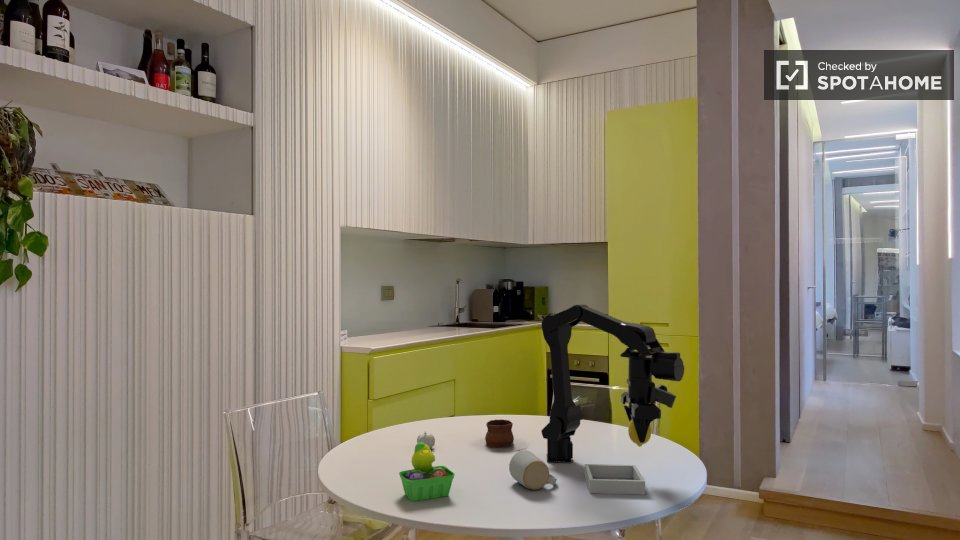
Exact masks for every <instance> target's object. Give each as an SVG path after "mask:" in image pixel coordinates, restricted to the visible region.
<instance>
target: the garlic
mask: <svg viewBox="0 0 960 540" xmlns="http://www.w3.org/2000/svg"><path fill="white" fill-rule="evenodd" d="M421 442H423V443H424V444H426V445H428V446H429V448H430V449H432V448H433V447H434V446H435V444H436V438H435V436H434V434H433V433H431V432H427V431H426V430H424V432H422V433H419V434H418V436H417V438H416V444H417V443H421Z"/></svg>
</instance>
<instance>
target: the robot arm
mask: <svg viewBox="0 0 960 540" xmlns="http://www.w3.org/2000/svg"><path fill="white" fill-rule="evenodd" d="M581 322H582V323H584V324H587V325H589V326H591V327H593V328H596V329H598V330H601V331H603V332H606V333H607V334H610V335H612V336H614V338H616V339H618V340H619V342H620V343H621V344H623V345H624V346H626V349H625V350H624V351H623V352H622V353H621V354H620V356H619V357H621V358H628V367H627V369H628V372H627V373H628V378H626V384H627V385H628V386H627V391H623V392H622V394H620V404H622V405H623V406H622V407H623V409H624V411H625V414H626V417H627V421H629V423H630V421H631V419H632V421H633V424H634V427H635V430H636V433H637V436H638V439H639V442H640V443H644V442H645V438H646V435H647V431H648V428H649V425H650V426H651V423H652V422H653V421H654V420H659V419H662V409H661V408H659V406H658V405H656V402H657V403H659V404H662V405H664V406H666V407H667V408H670V409H672V408H673V405H674V403H675V401H676V398H677V395H675V394H674V393H672V392H670V391H668V387H667V386H666V385H664V384H662V383H660V384H658V385H657V386H656V384H655V382H654V381H653V377H654V379H657V380H665V381H671V382H681V381H682V380H683V378H684V373H685V365H684V361H683V359H682V358H681V353H680V352H676V351H674V352H667V351H665V350H664V348H663V346H662V345H661V343H660V341H659V340H658V339H657V336H656V332H655V330H654V329H653V327H651V326H650V325H646V324H645V325H644V324H641V323H635V322H628V321H623V320H622V319H618V318H616V317H614V316H612V315H608V314H606V313H604V312H602V311H599V310H597V309H595V308H593V307H590V306H588V305H586V304H584V303H583V304H573V306H571V307H569V308H567V309H564V310H562V311H560V312H558V313H555V314H548V315H546V316H544V318H543V319H542V320H541V324H540V326H541V331H542V335H543V339H544V341H545V342H546V345H547V346H548V347H549V355H550V356H549V357H550V367H551V369H550V370H551V379H552V380H551V381H552V391H553V402H552V406H551V407H550V411H549V422H548V423H546V425H545V426H544V427H543V428H541V434H542V438H543V439H545V440H546V461H547V463H572V460H573V458H574V456H573V455H574V453H573V451H574V448H573V447H574V443H573V441H572V440H571V436H575V434H576V431H577V430H578V428H579V427H580V425H581V421H582V420H583V418H582V413H581V408H582V407H581V404H575V401H574V400H573V397H572V396H573V395H572V384H571V383H572V382H571V373H570V360H569V351H568V350H569V349H568V348H569V343H570V340H571V338H572V330H573V328H574V327H576V326H578V325H579V324H580V323H581Z"/></svg>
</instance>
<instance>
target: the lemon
mask: <svg viewBox="0 0 960 540" xmlns="http://www.w3.org/2000/svg"><path fill="white" fill-rule="evenodd" d="M627 428H628V429H627V431H628V436H629V439H630V440H631V442H632V443H634V444H635V445H637V447H642V446H643V445H645V444H647V443H648V442H649V441H650V440H651V436H652V426H651V424H650V425H649V428H648V431H647V435H646V438H645V442H644V443H640V442H639V439H638V436H637V433H636V430H635V427H634V424H633V421H632V419H631V421H630V422H629V424H628V427H627Z"/></svg>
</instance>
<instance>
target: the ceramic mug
mask: <svg viewBox="0 0 960 540" xmlns="http://www.w3.org/2000/svg"><path fill="white" fill-rule="evenodd" d="M508 465H509V466H508V468H509V469H508V470H509V473H510V476H511V477H512V479H514V480H515V481H516V482H518V483H519V484H520V485H522V486H523V487H524V488H526V489H528V490H531V491H537V490H540V489H543V487H544V486H546V485H547V484H550V485H552V486H554V485H556V483H557V480H558V478H557V477H555V476H554V475H553V474H551V473H550V469H549V467H548V465H547V464H546V462H544V460H542V459H541V458H539V457H538V456H537V455H536V454H535V453H533V452H532V451H530V450H527V449H523V450H520V451H516V453H514V455H512V457H511V459H510V461H509V464H508Z"/></svg>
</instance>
